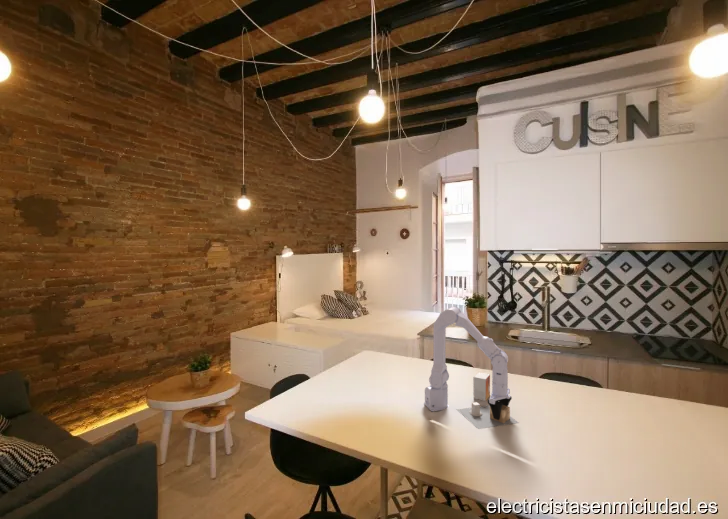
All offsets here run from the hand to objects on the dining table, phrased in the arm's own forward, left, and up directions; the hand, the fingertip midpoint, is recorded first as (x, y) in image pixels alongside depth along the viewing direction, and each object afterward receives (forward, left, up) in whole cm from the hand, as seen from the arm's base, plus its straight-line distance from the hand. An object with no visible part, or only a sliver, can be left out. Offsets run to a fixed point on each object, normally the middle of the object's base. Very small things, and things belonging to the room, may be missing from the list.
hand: (499, 416), depth 132 cm
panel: (-4, +3, -2) cm, 5 cm away
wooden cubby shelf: (0, 0, -1) cm, 1 cm away
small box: (+5, +20, -2) cm, 21 cm away
